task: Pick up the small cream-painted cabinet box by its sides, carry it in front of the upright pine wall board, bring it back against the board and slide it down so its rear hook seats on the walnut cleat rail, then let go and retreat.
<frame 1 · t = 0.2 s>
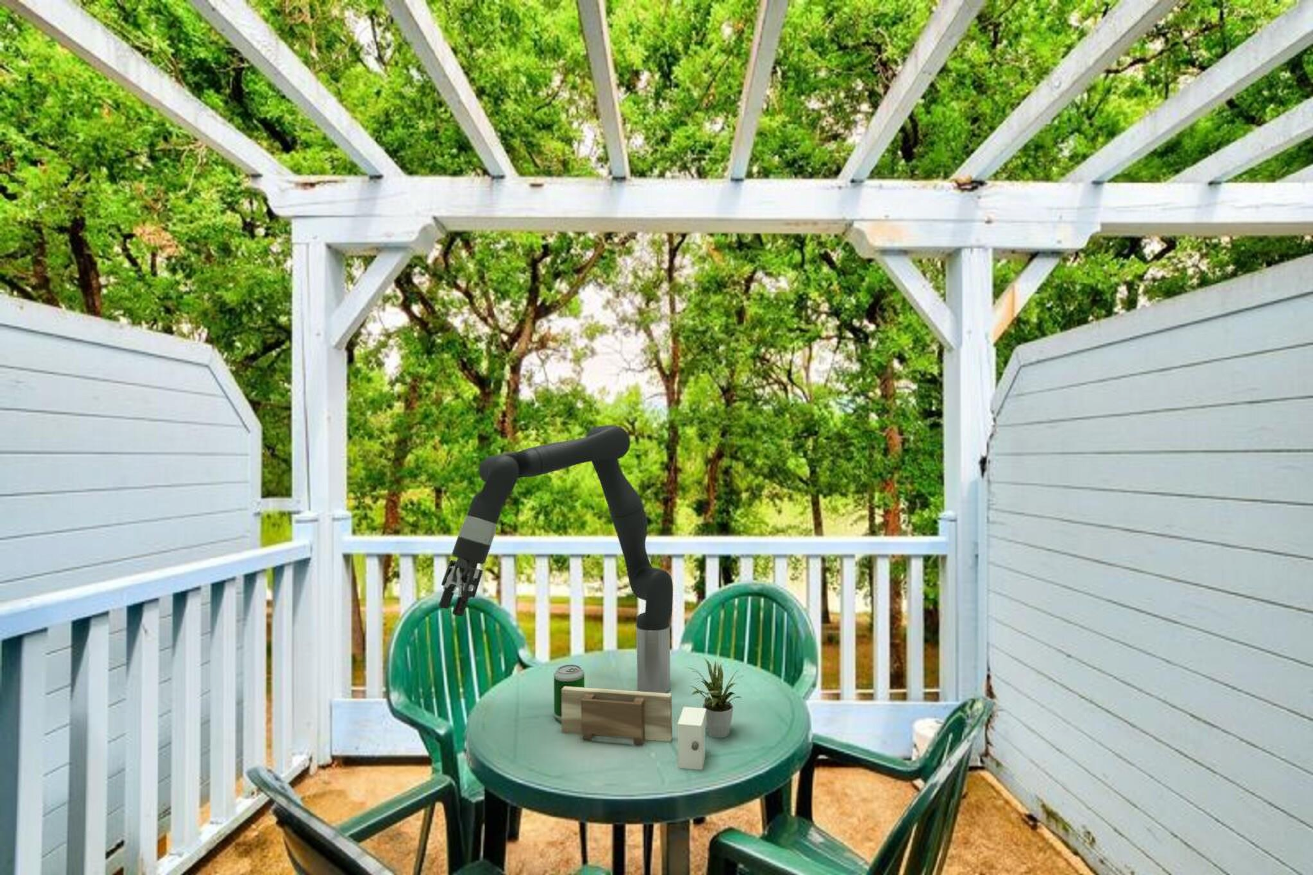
hand: (450, 611, 131), 31 cm above the table, tool tilted 20°, fingers open, 8 cm apart
soda can: (569, 718, 148), on the table
house plant: (713, 731, 140), on the table
wall board: (616, 734, 138), on the table
cabinet: (691, 762, 126), on the table
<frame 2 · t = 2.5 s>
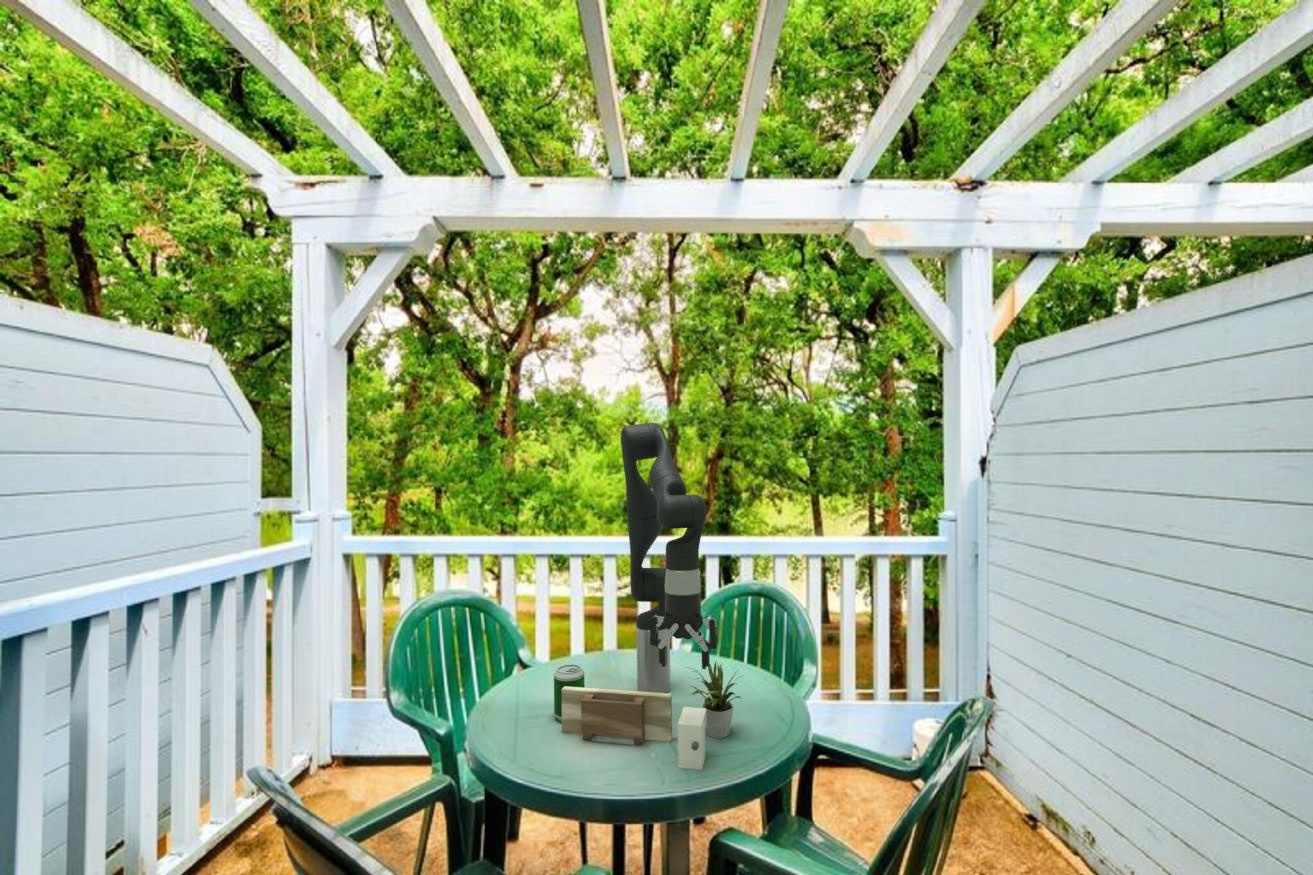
hand: (684, 666, 126), 20 cm above the table, tool pointing down, fingers open, 8 cm apart
nothing on the table moved.
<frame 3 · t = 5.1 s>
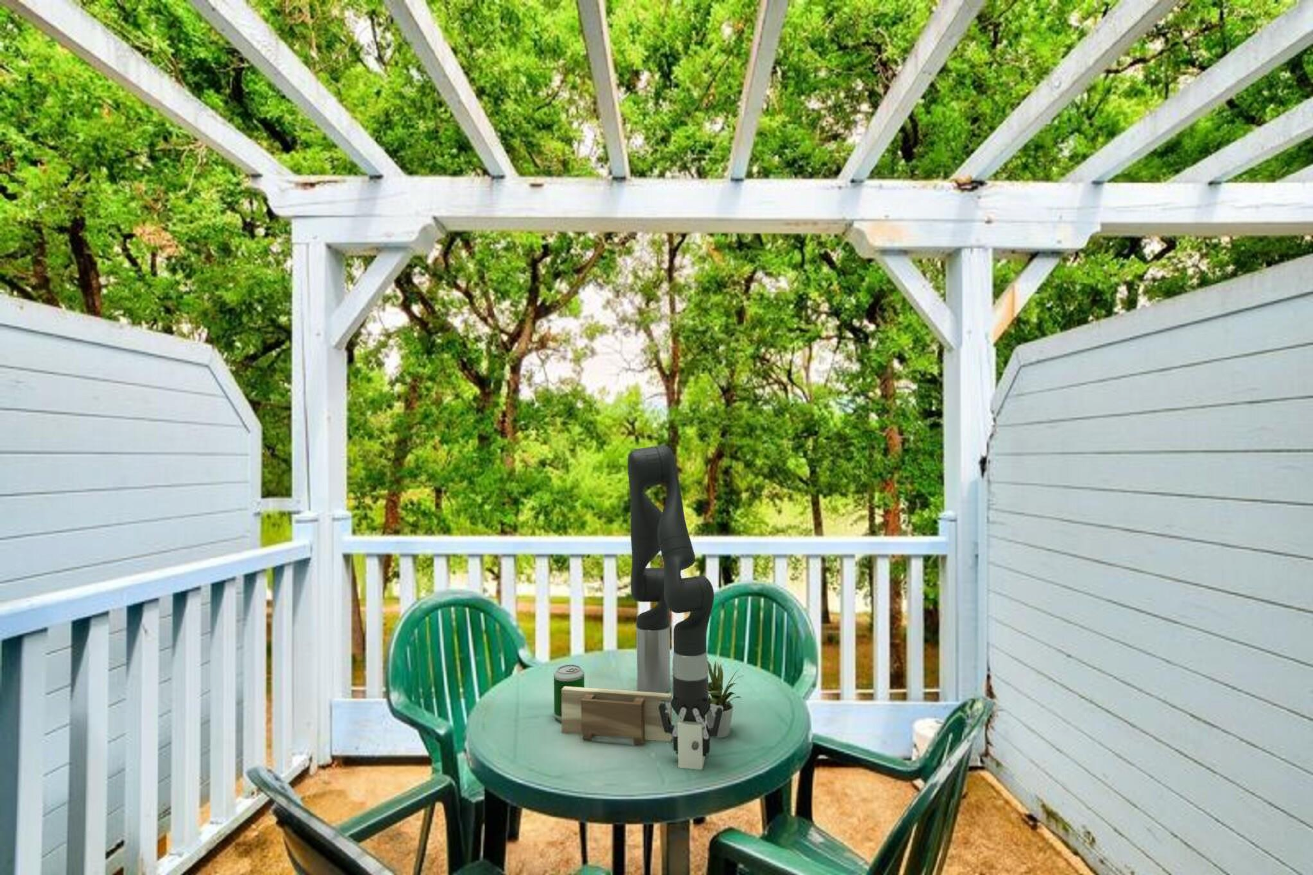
hand: (691, 753, 126), 2 cm above the table, tool pointing down, fingers closed on cabinet, 5 cm apart
cabinet: (691, 762, 126), on the table, touching gripper
everything else where it was.
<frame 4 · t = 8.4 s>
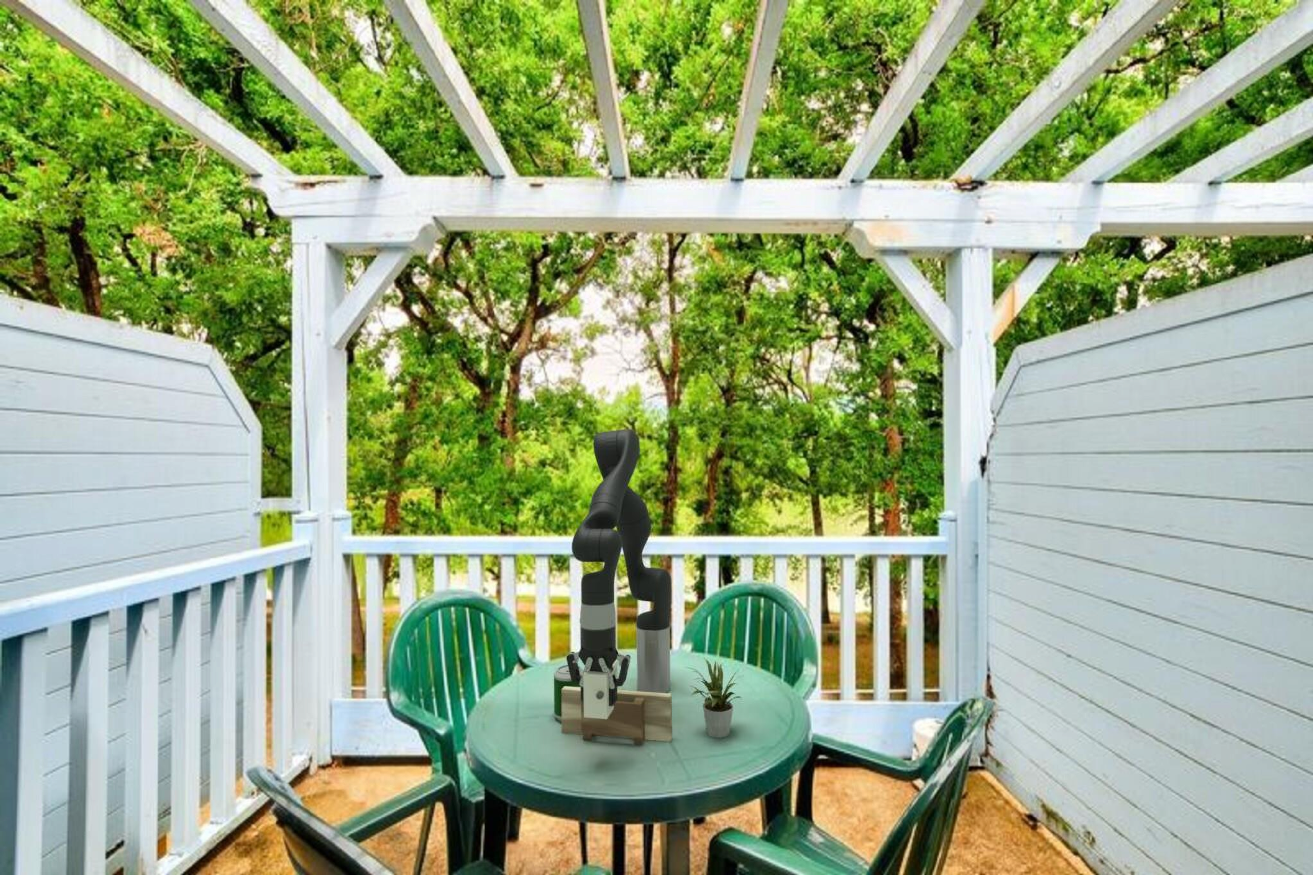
hand: (598, 703, 126), 13 cm above the table, tool pointing down, fingers closed on cabinet, 5 cm apart
cabinet: (598, 712, 126), point 11 cm above the table, touching gripper
everything else where it was.
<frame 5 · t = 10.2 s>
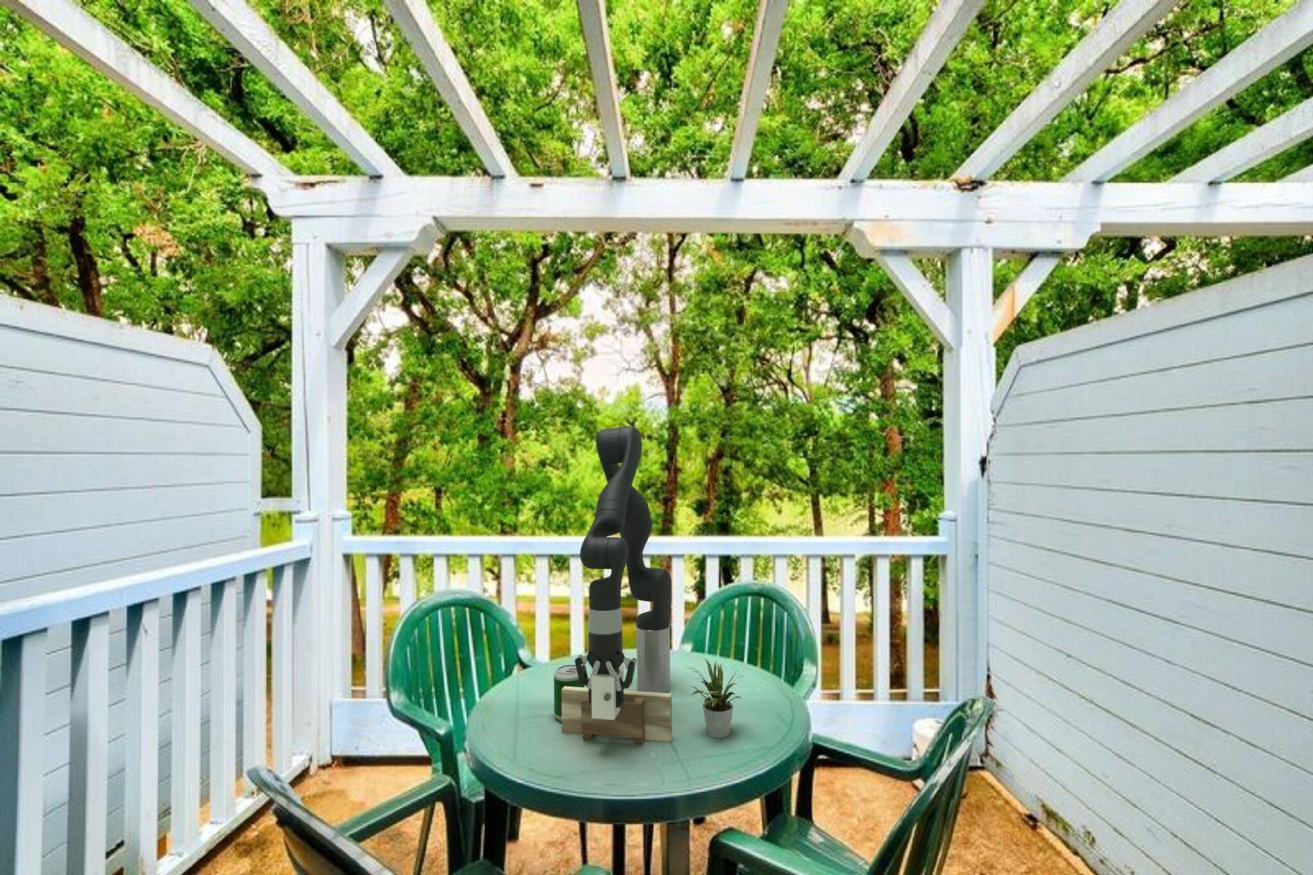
hand: (606, 704, 131), 10 cm above the table, tool pointing down, fingers closed on cabinet, 5 cm apart
cabinet: (606, 714, 131), point 8 cm above the table, touching gripper
everything else where it was.
when the fingers open (4 cm above the table, at t = 11.8 s): cabinet drops 1 cm, resting on wall board.
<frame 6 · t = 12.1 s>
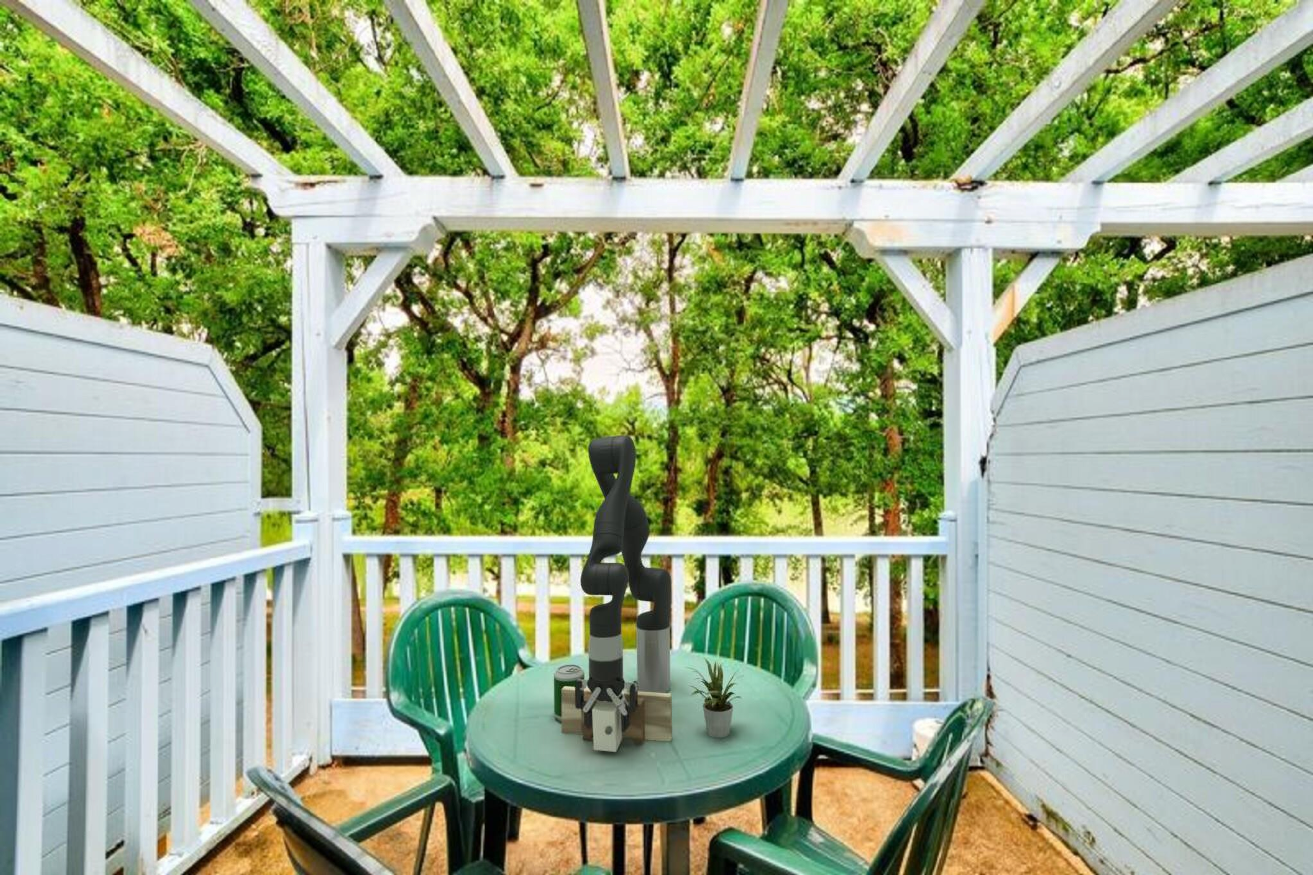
hand: (606, 728, 131), 5 cm above the table, tool pointing down, fingers open, 7 cm apart
cabinet: (608, 743, 132), point 1 cm above the table, tilted 6°, touching wall board
everything else where it was.
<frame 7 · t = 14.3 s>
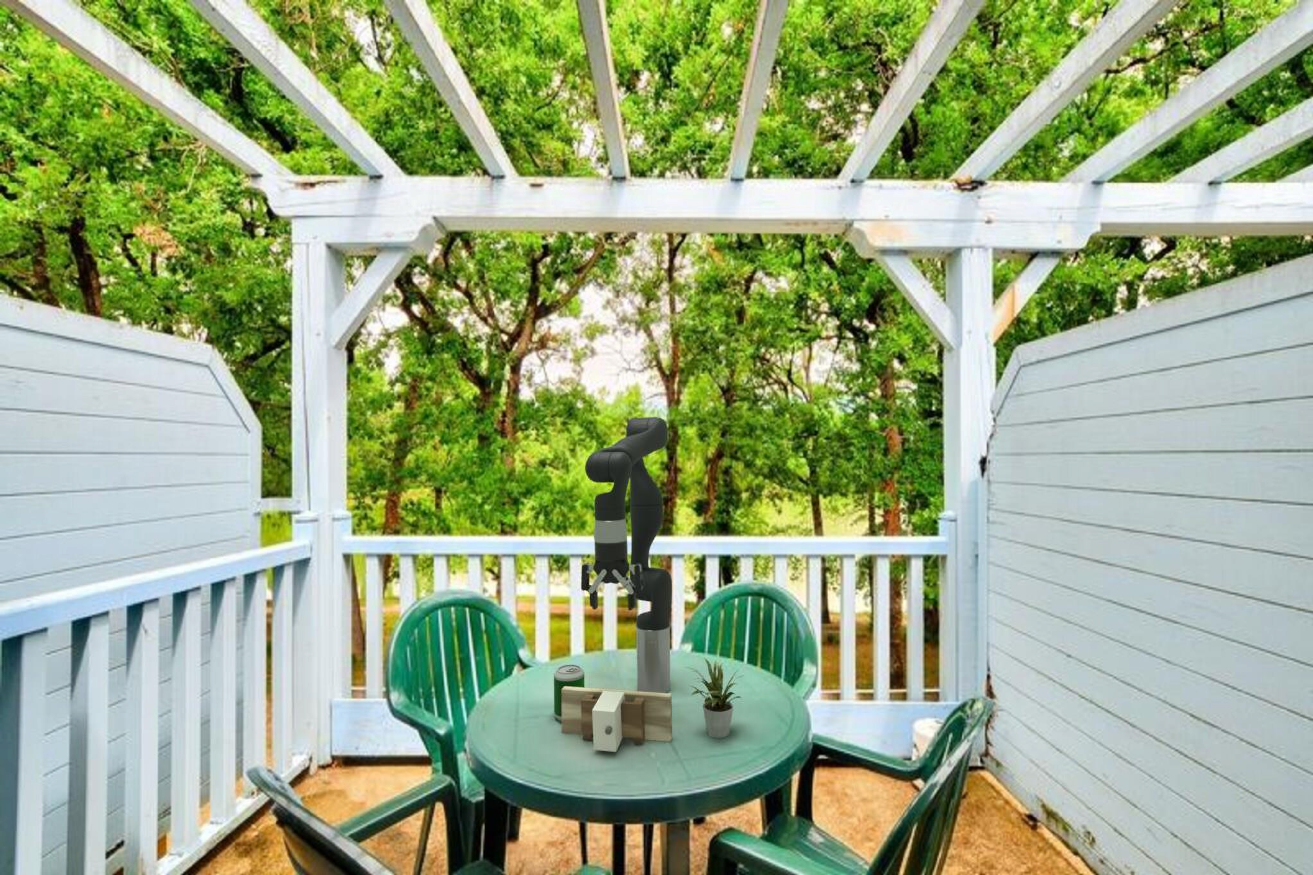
hand: (612, 609, 137), 30 cm above the table, tool pointing down, fingers open, 8 cm apart
nothing on the table moved.
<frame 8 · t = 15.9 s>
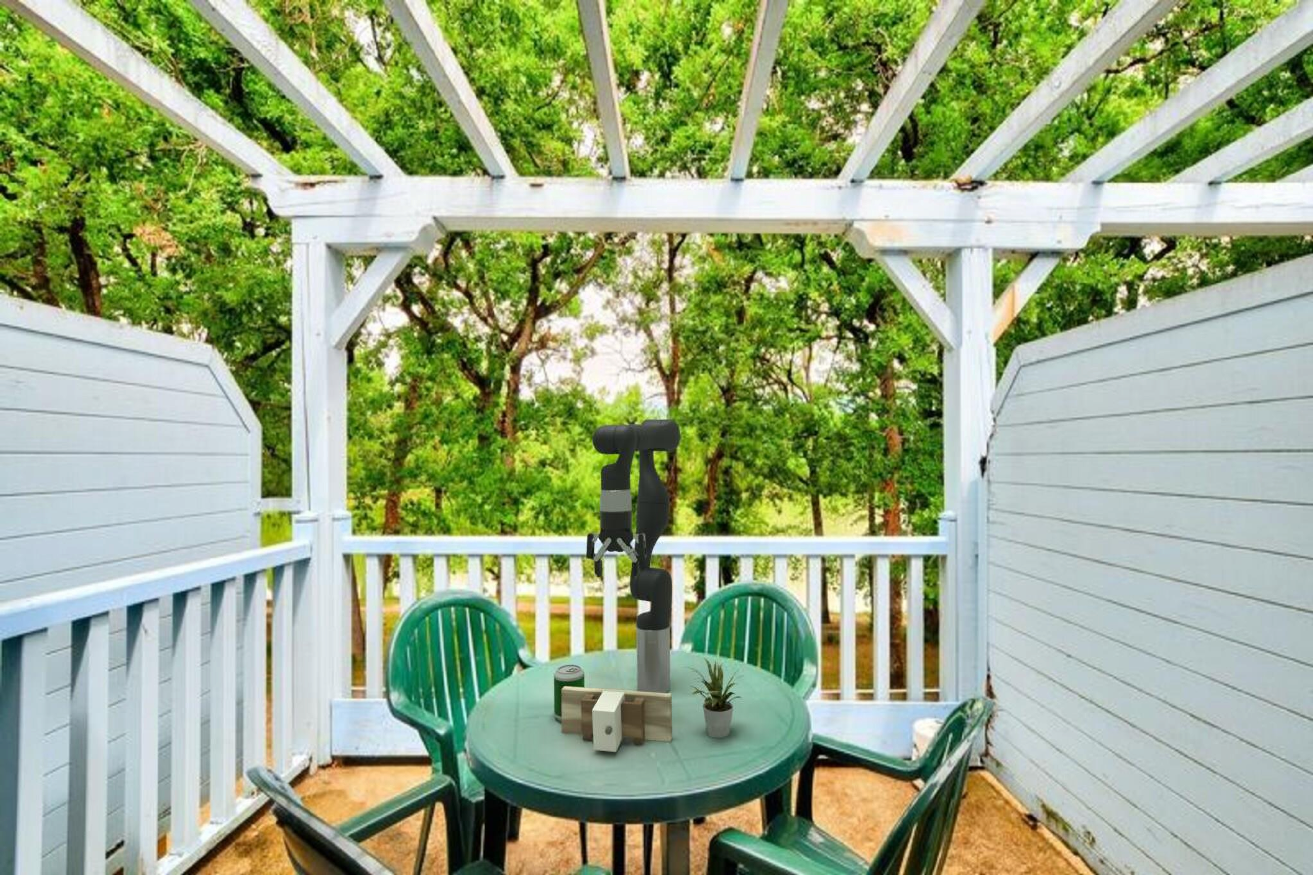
hand: (616, 577, 141), 36 cm above the table, tool pointing down, fingers open, 8 cm apart
nothing on the table moved.
at the end: cabinet 1.2 cm from the target spot, point 1.2 cm above the table; cabinet touching wall board; cabinet tilted 6° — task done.
